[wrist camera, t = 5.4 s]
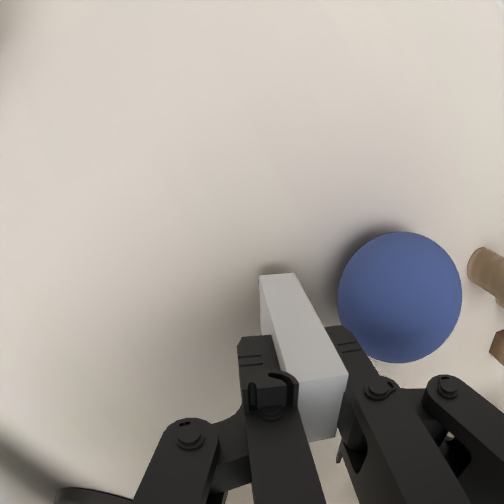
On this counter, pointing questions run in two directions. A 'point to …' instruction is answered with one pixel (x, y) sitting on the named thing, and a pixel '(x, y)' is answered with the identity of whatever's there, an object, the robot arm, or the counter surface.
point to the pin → (500, 302)
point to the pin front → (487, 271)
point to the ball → (400, 297)
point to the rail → (498, 347)
